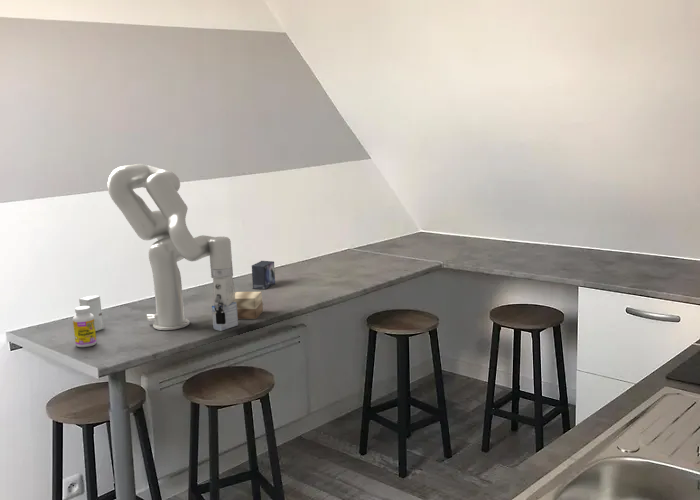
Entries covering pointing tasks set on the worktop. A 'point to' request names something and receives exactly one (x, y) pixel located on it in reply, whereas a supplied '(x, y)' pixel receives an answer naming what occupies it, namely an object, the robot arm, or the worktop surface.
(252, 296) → the birch slab
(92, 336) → the supplement bottle
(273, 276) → the small box
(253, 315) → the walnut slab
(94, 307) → the skincare box
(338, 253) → the worktop surface
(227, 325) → the medicine box
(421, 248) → the worktop surface
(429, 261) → the worktop surface
